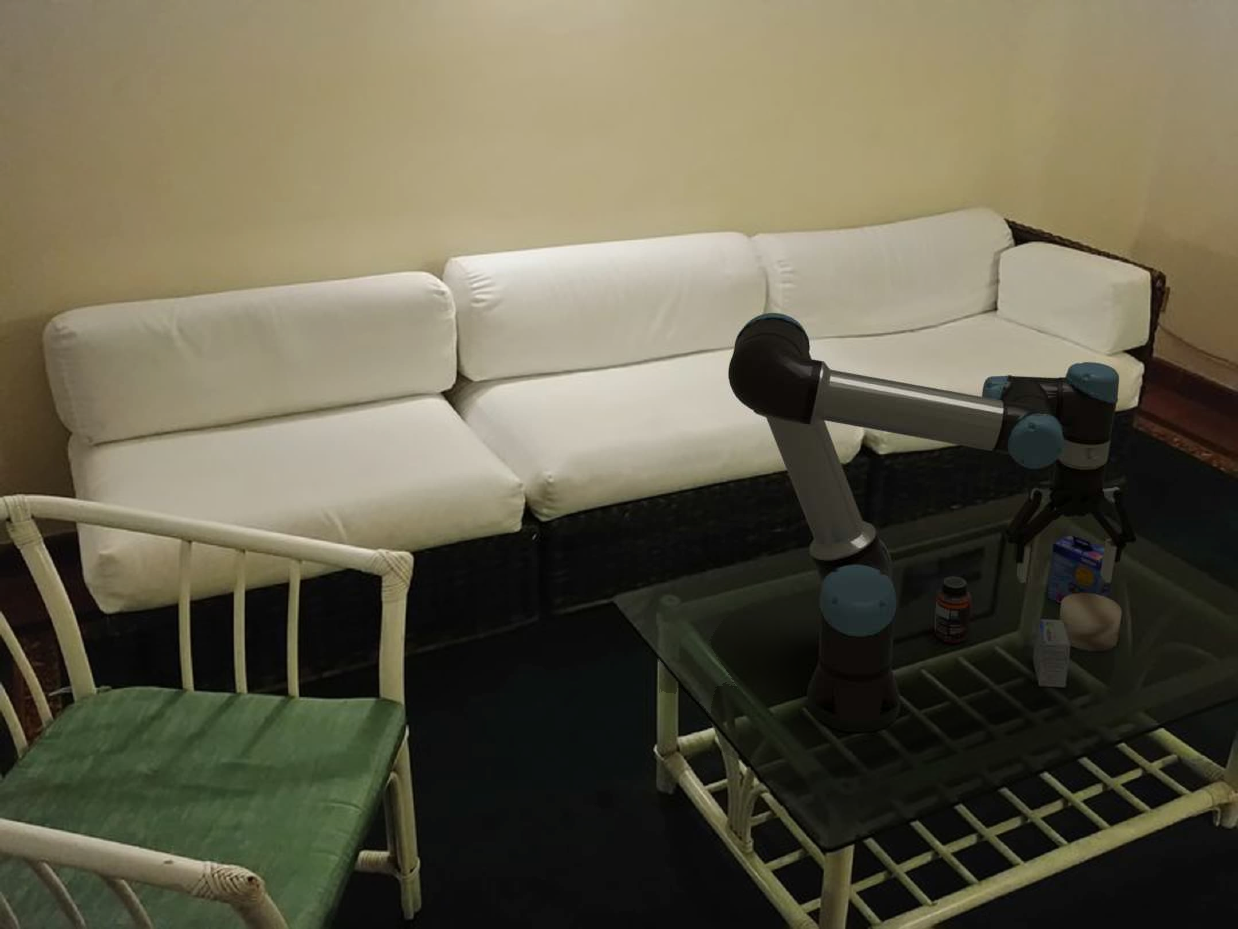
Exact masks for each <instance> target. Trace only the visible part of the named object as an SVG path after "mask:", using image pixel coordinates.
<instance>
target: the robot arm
mask: <svg viewBox="0 0 1238 929" xmlns="http://www.w3.org/2000/svg"><path fill="white" fill-rule="evenodd" d="M810 345H811V344H810V339H809V336H808V334H807V332H806V330H805V328H804V327H803V326H802V324H801V323H800V322H799V321H798V320H796V319H795V318H793V317H791V316H789V315H787V314H783V313H780V312H779V313H778V312H769V313H768V312H767V313H763V314H759V315H757V316H755V317H754V318H751V319H750V320H749V321H748V322H746V324H745V325H744V326H743V328H741V330H740V331H739V333H738V334H737V336H736V339H735V340H734V348H733V352H732V356H731V358H730V361H729V364H728V370H727V373H728V377H727V378H728V382H729V386H730V387H731V391H732V393H733V395H734V396H735V397H736V399H737V400H738V401H739V402H740V403H741V404H742V405H744V406H745V407H747V408H748V409H750V410H752V411H753V413H754V414H756V415H758V416H762V417H764V418H766V421H767V424H768V426H769V429H770V430H771V433H772V436H773V438H774V440H775V443H776V446H777V448H778V451H779V453H780V456H781V459H782V461H783V464H784V466H785V469H786V471H787V474H788V476H789V478H790V481H791V483H792V486H793V488H794V492H795V493H796V496H797V499H798V501H799V505H800V506H801V510H802V511H803V514H804V517H805V519H806V521H807V524H808V526H809V529H810V531H811V534H812V536H813V540H812V542H811V544H810V546H809V554H810V556H811V558H812V561H813V563H814V566H815V568H816V571H817V573H818V576H819V578H820V583H821V590H820V592H819V609H820V611H819V640H818V642H819V643H818V662H817V665H816V667H815V670H814V671H813V674H812V676H811V678H810V681H809V684H808V685H807V691H806V705H807V709H808V711H809V713H810V714H811V715H812V716H813V717H814V719H815V720H817V721H818V722H820V723H822V724H823V725H825V726H827V727H830V728H832V729H834V730H838V731H842V732H846V733H847V732H848V733H860V734H861V733H869V732H870V733H871V732H875V731H879V730H882V729H884V728H887V727H888V726H890V725H891V724H892V723H894V722H895V721H896V719H897V718H898V716H899V713H900V708H901V694H900V691H899V687H898V685H897V681H896V678H895V675H894V671H893V669H892V658H893V646H894V645H893V641H894V627H895V626H894V625H895V614H896V610H897V595H896V590H895V587H894V586H895V585H894V584H893V578H892V576H893V562H892V559H891V558H892V557H891V555H890V552H889V551H888V549H887V547H886V545H885V544H884V542H883V541H882V540H881V539H880V537H879V535H878V532H877V530H876V528H875V526H874V525H873V524H872V523H869V522H867V521H864V520H863V519H862V516H861V513H860V511H859V508H858V506H857V505H858V504H857V502H856V500H855V498H854V495H853V492H852V489H851V487H850V484H849V482H848V479H847V476H846V474H845V470H844V469H843V466H842V464H841V461H840V458H839V455H838V453H837V450H836V448H835V445H834V442H833V439H832V437H831V435H830V432H829V430H828V426H827V424H826V422H831V423H836V424H841V425H842V424H843V425H847V426H851V427H853V426H854V427H858V428H864V429H868V430H869V429H870V430H876V431H881V432H887V433H891V434H897V435H903V436H907V437H914V438H919V439H923V440H924V439H925V440H930V441H936V442H942V443H947V444H953V445H958V446H964V447H969V448H973V449H979V450H984V451H990V452H997V453H1001V454H1004V455H1005V454H1006V455H1009V456H1010V457H1012V459H1013V460H1014V461H1015V462H1016V463H1017V464H1019V465H1020V466H1022V467H1024V468H1027V469H1033V470H1036V469H1042V468H1045V467H1049V466H1051V465H1052V464H1054V466H1053V472H1052V479H1051V480H1052V483H1051V486H1050V487H1049V489H1045V488H1044V489H1043V488H1039V487H1038V486H1037V485H1033V486H1030V489H1029V493H1028V497H1027V499H1026V501H1025V502H1024V503H1023V504H1022V506H1021V507H1020V509H1019V511H1017V513H1016V514H1015V516H1014V517H1013V519H1012V520H1011V522H1010V524H1009V525H1008V526H1007V528H1006V529H1005V531H1004V532H1003V535H1004V538H1005V539H1006V541H1007V543H1009V544H1010V545H1011V544H1014V546H1013V555H1012V557H1013V559H1014V561H1015V563H1016V564H1017V570H1016V576H1017V577H1018V580H1019V582H1020V583H1021V584H1026V583H1027V577H1028V576H1027V575H1028V569H1029V568H1028V567H1029V561H1030V554H1031V547H1030V545H1029V543H1030V542H1032V540H1033V539H1035V538H1036V536H1038V535H1039V534H1040V533H1042V532H1043V531H1044V530H1045V529H1046V528H1047V526H1049V525H1050V524H1052V522H1054V521H1057V520H1058V519H1059V518H1060V517H1061V516H1062V515H1063V516H1064V517H1069V518H1070V517H1074V516H1077V517H1080V518H1081V517H1085V516H1086V515H1089V514H1091V515H1092V516H1093V518H1094V519H1095V520H1096V521H1097V523H1098V524H1099V525H1100V526H1101V527H1102V528H1103V530H1104V531H1105V532H1106V534H1107V535H1108V536H1109V537H1110V538H1111V539H1110V538H1109V539H1105V543H1104V548H1105V549H1104V555H1103V561H1102V567H1101V573H1100V574H1101V576H1102V577H1103V579H1104V580H1105V582H1106V583H1111V584H1112V582H1111V578H1112V579H1113V575H1112V572H1114V568H1113V566H1114V567H1115V563H1119V562H1120V561H1121V557H1122V552H1123V549H1125V548H1126V546H1127V543H1132V544H1134V543H1135V542H1136V541H1137V537H1136V534H1135V531H1134V529H1133V527H1132V523H1131V521H1130V519H1129V515H1127V511H1126V509H1125V506H1124V504H1123V501H1124V497H1123V496H1124V492H1122V490H1121V489H1120V488H1119V487H1118V486H1117V485H1116V484H1112V485H1110V486H1109V488H1103V487H1104V484H1105V477H1106V471H1107V462H1108V458H1109V452H1110V444H1111V440H1112V439H1111V436H1112V430H1113V425H1114V420H1115V414H1116V409H1117V404H1118V402H1119V396H1118V395H1119V387H1120V374H1119V373H1118V372H1117V370H1116V369H1115V368H1114V367H1112V366H1109V365H1107V364H1105V363H1101V362H1092V361H1083V362H1077V363H1073V364H1072V365H1070V366H1069V367H1068V369H1067V373H1066V374H1065V377H1064V376H1063V377H1062V376H1061V377H1044V376H1043V377H1041V376H1022V375H1021V376H1019V375H1011V374H1007V375H996V376H995V375H994V376H993V375H992V376H989V377H987V378H986V379H985V380H984V382H983V385H982V386H983V387H982V390H981V391H982V392H981V396H979V395H974V394H968V393H963V392H957V391H952V390H946V389H942V388H935V387H929V386H923V385H917V384H914V383H907V382H901V381H898V380H897V381H895V380H891V379H886V378H885V379H884V378H879V377H875V376H868V375H864V374H863V375H862V374H856V373H851V372H846V371H840V370H836V369H835V370H834V369H830V367H829V366H828V365H827V363H826V362H825V361H823V360H819V359H814V358H813V359H812V357H811V354H810V349H811V346H810ZM1104 498H1105V499H1106V500H1107V501H1108V502H1109V503H1110V504H1111V508H1112V510H1113V512H1114V514H1115V517H1116V519H1117V522H1118V525H1119V526H1120V529H1121V532H1120V533H1118V532H1117V530H1116V529H1115V528H1114V527H1113V525H1112V524H1111V523H1110V522H1109V520H1107V518H1106V517H1105V515H1104V514H1103V513H1102V512H1101V511H1100V510H1099V508H1098V505H1099V504H1100V503H1101V502H1102V501H1103V500H1104ZM1047 499H1049V500H1050V501H1048V502H1047V503H1046V504H1045V505H1044V508H1043V509H1042V510H1041V511H1040V512H1039V513H1038V514H1037V515H1036V516H1034V515H1035V514H1036V513H1037V511H1038V509H1039V508H1040V505H1041V504H1044V503H1045V500H1047ZM1033 516H1034V517H1033Z"/></svg>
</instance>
